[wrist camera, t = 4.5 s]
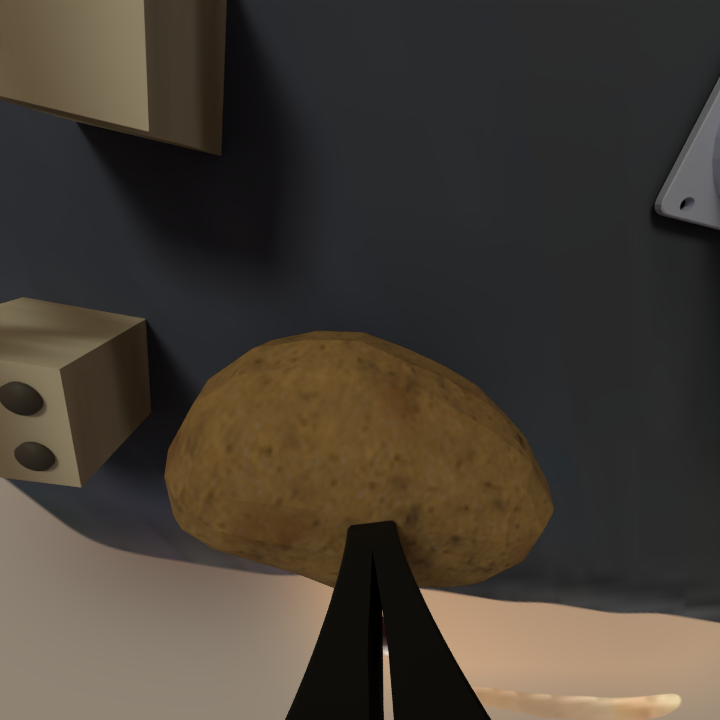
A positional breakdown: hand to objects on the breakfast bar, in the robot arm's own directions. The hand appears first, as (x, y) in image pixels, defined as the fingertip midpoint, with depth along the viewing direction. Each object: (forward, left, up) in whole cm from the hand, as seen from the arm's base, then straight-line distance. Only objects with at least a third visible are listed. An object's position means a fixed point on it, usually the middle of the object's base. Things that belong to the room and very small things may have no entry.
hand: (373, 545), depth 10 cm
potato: (0, 0, -8) cm, 8 cm away
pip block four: (+13, 0, -8) cm, 15 cm away
